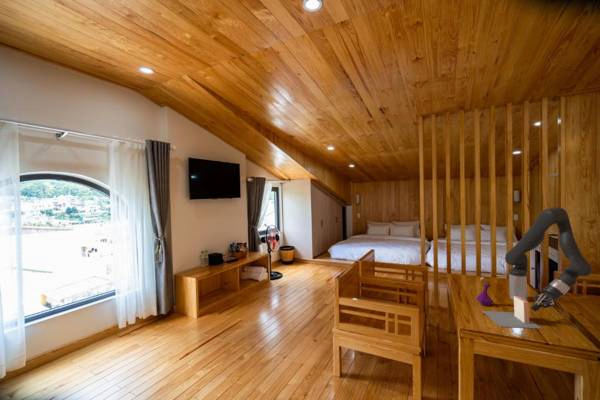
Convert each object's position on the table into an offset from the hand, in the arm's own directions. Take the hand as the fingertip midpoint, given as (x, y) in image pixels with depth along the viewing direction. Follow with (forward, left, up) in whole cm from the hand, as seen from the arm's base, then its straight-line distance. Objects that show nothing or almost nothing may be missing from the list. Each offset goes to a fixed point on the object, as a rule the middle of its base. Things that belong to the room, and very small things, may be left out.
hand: (532, 309), depth 151 cm
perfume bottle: (-12, -24, -7) cm, 28 cm away
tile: (+3, -5, -6) cm, 8 cm away
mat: (+6, -10, -6) cm, 13 cm away
